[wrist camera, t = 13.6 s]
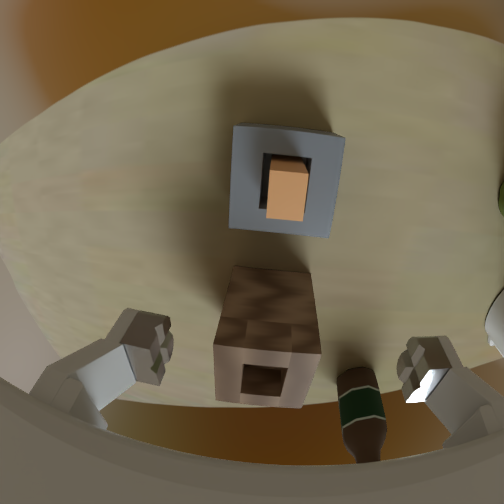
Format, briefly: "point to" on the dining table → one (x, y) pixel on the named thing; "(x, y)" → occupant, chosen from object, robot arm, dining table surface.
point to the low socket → (258, 169)
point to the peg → (287, 188)
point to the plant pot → (501, 199)
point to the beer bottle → (361, 414)
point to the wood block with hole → (266, 339)
